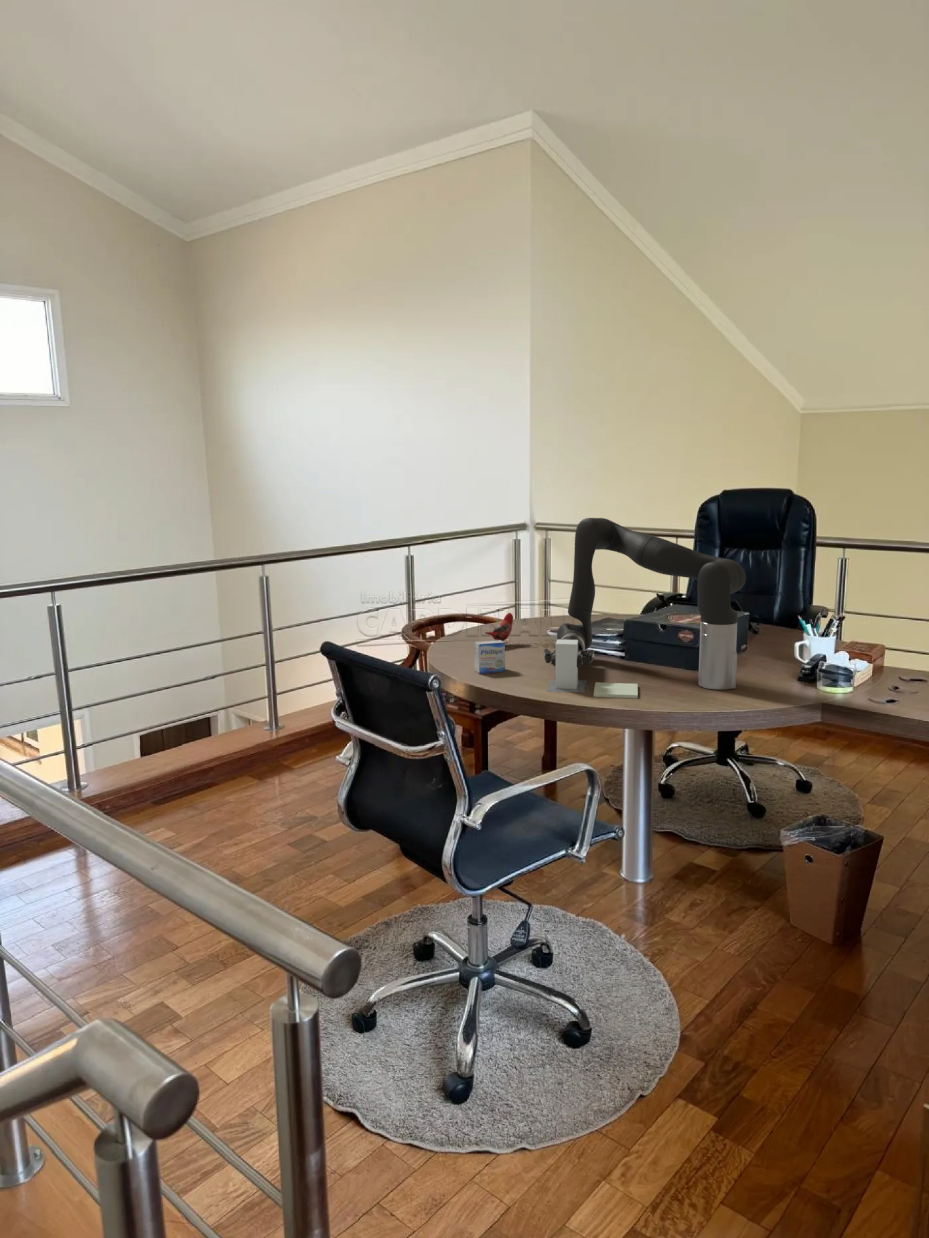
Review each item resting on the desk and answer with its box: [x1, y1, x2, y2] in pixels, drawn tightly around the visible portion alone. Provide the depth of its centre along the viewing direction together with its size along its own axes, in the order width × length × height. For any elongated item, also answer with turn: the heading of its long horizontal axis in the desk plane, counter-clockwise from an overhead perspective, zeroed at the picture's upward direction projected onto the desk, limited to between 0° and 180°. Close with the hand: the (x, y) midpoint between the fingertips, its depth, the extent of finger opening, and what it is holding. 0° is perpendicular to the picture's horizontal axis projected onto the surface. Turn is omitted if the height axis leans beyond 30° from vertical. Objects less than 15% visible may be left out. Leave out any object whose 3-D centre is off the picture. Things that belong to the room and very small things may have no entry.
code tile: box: [545, 679, 588, 694], centre depth 231 cm, size 10×12×1 cm
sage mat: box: [593, 682, 639, 699], centre depth 225 cm, size 11×11×1 cm
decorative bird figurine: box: [484, 612, 514, 645], centre depth 279 cm, size 3×18×10 cm, turn 147°
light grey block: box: [555, 638, 579, 689], centre depth 230 cm, size 6×6×12 cm
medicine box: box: [473, 639, 506, 675], centre depth 248 cm, size 8×4×9 cm, turn 105°
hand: (566, 662), depth 228 cm, fingers closed on light grey block, 5 cm apart
